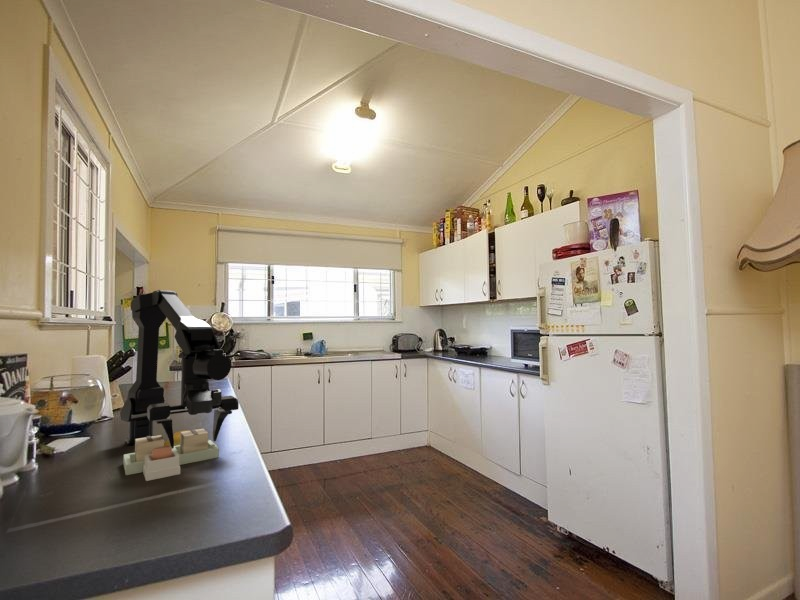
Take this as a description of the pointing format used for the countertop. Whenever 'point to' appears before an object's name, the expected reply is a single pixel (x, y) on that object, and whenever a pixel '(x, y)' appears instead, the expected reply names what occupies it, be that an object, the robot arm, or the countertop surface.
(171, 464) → the button housing
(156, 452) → the button
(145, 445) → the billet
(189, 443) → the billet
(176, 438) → the bread roll
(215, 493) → the countertop surface
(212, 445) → the pale green divided tray
